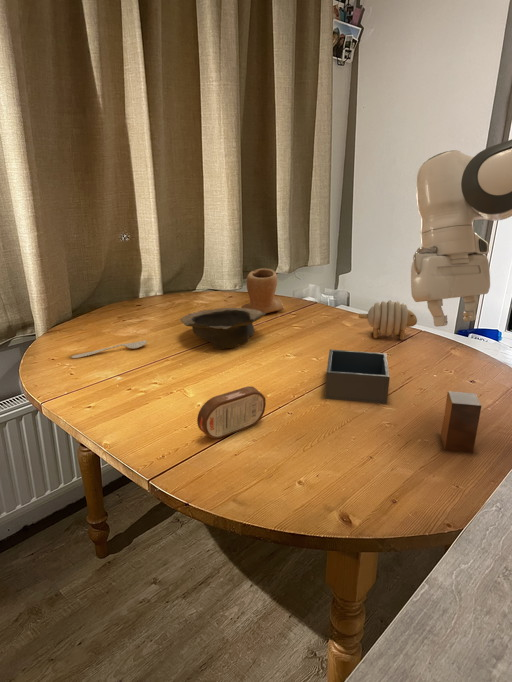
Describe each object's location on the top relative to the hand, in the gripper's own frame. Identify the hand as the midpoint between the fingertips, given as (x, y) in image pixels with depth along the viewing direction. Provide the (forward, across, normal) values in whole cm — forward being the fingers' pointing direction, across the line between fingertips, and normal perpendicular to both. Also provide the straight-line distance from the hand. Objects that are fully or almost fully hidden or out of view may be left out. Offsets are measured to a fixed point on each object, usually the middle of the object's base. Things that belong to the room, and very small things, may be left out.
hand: (455, 323), depth 90 cm
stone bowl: (0, -1, +74) cm, 75 cm away
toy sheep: (+5, +39, +46) cm, 60 cm away
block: (+23, +2, +4) cm, 24 cm away
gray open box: (+14, +5, +30) cm, 34 cm away
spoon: (-1, -32, +85) cm, 91 cm away
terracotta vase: (-7, +24, +85) cm, 89 cm away
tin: (+17, -28, +33) cm, 47 cm away
